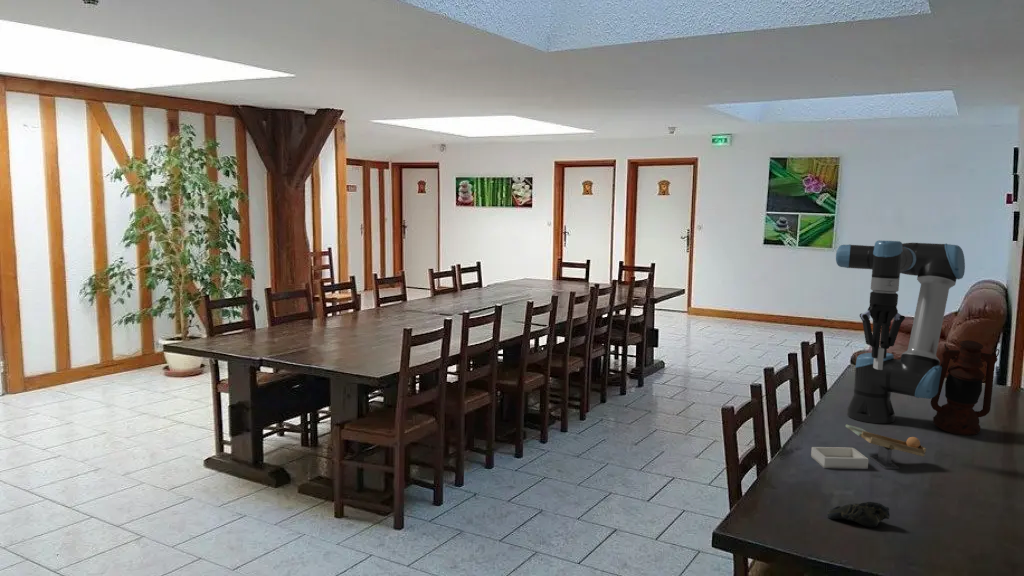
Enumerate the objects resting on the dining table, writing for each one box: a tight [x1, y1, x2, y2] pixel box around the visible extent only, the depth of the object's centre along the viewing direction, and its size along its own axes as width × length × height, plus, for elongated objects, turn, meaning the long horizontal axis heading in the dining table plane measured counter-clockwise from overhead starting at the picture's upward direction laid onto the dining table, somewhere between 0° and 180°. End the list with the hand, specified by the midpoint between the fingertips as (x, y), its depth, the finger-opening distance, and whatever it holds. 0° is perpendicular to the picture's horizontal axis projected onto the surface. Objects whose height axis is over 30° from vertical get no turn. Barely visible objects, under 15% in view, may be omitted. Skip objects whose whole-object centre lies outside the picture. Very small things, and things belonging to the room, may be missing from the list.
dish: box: [810, 446, 869, 470], centre depth 210 cm, size 9×12×3 cm
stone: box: [826, 501, 891, 528], centre depth 171 cm, size 7×13×5 cm, turn 70°
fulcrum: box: [869, 445, 900, 470], centre depth 210 cm, size 9×4×5 cm, turn 179°
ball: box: [905, 436, 921, 448], centre depth 209 cm, size 4×4×4 cm
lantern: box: [930, 339, 1000, 436], centre depth 238 cm, size 17×14×30 cm
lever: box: [845, 424, 927, 457], centre depth 213 cm, size 16×16×2 cm
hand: (877, 368), depth 219 cm, fingers closed
